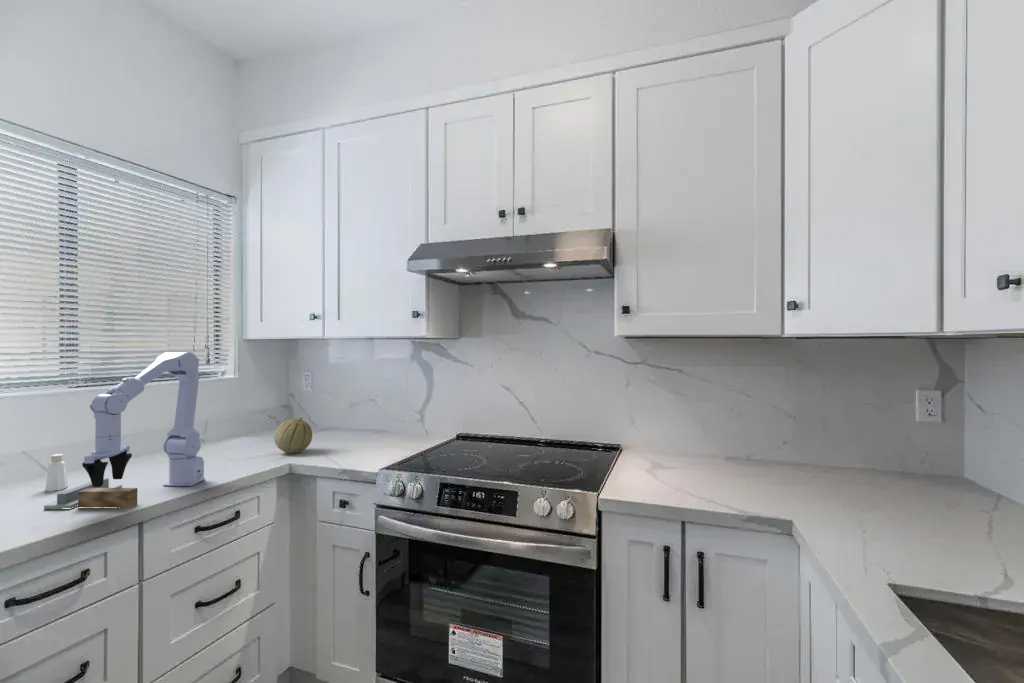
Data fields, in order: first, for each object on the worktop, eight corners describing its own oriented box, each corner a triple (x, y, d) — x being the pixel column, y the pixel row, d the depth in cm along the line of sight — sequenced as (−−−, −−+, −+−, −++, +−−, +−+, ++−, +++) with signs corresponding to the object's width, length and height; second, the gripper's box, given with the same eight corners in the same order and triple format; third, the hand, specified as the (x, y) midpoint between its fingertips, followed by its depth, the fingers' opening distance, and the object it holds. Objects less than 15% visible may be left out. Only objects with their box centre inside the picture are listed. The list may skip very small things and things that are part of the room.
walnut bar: (137, 504, 144) (137, 487, 144) (128, 508, 141) (128, 491, 141) (88, 505, 144) (88, 488, 144) (78, 509, 140) (78, 491, 140)
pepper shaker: (46, 492, 155) (46, 457, 155) (44, 489, 158) (44, 454, 158) (69, 488, 159) (69, 454, 159) (66, 485, 162) (67, 452, 162)
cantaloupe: (270, 452, 211) (270, 417, 211) (305, 447, 221) (305, 414, 221) (281, 458, 200) (281, 421, 200) (317, 453, 210) (317, 418, 210)
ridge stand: (121, 488, 159) (122, 476, 159) (69, 509, 139) (69, 495, 139) (99, 488, 159) (99, 476, 159) (43, 509, 139) (43, 495, 139)
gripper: (112, 431, 149) (112, 476, 149) (72, 440, 135) (72, 490, 135) (137, 431, 150) (136, 475, 150) (99, 440, 135) (99, 489, 135)
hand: (107, 482), depth 142 cm, fingers open, 7 cm apart
